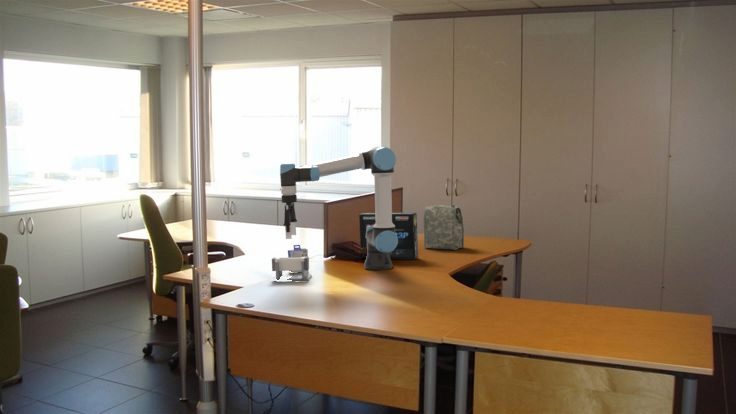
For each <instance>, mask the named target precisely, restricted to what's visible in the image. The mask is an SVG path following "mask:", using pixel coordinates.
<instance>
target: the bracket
mask: <svg viewBox="0 0 736 414" xmlns="http://www.w3.org/2000/svg"><path fill="white" fill-rule="evenodd" d="M301 265H302V273H301V274H299V275H294V276H292V275H291V276H292V277H291V278H289V279H287V280H292V281H308V282H309V281H310V280H311V279H312V274H308V273H309V272H307V270H305V261H301ZM275 266H276V271H275V277H276V279H277V280H279V279H280V277H281V276H283V271H279V261H276V262H275ZM310 278H311V279H310ZM309 279H310V280H309Z"/></svg>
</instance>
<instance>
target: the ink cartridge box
mask: <svg viewBox="0 0 736 414" xmlns="http://www.w3.org/2000/svg"><path fill="white" fill-rule="evenodd" d="M308 253H309V251H308V248H301V244H295V245H294V244H293V249H288V250H287V255H288V256H287V258H289V257H309V255H308ZM307 271H309V272H310V269H309V270H307ZM291 272H302V270H297V271H291Z"/></svg>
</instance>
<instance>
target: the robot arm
mask: <svg viewBox="0 0 736 414" xmlns="http://www.w3.org/2000/svg"><path fill="white" fill-rule="evenodd" d="M396 162H397V157H396V153H395V152H394V151H393V150H392V148H389V147H387V146H375V147H373V148H369V149H367V150H364V151H359V152H358V154H354V155H348V156H344V157H339V158H335V159H331V160H326V161H320V162H316V163H312V164H306V165H299V166H296V164H295V163H291V162H290V163H289V162H288V163H281V164H280V166H279V174H280V175H279V176H280V188H279V191H280V190H281V197H280V198H281V203H282V204H283V203H284V204H285V205H284V220H283V221H284V223H283V227H284V226H285V227H284V228H285V239H286V240H290V239H291V240H292V236H296V235H297V222H298V220H297V217H296V209H295V203H297V202H298V197H297V196H298V195H297V183H302V182H303V183H306V182H307V183H308V182H318V181H320V178H323V177H326V176H327V177H328V176H331V175H332V176H333V175H337V174H341V173H348V172H350V171H357V170H360V169H361V170H363V171H365V170H370V169H371V170H370V173H371V175H372V176H373V177H374V179H373V180H374V207H375V208H374V209H375V210H374V213H375V220H376V223H375V224H374V225H373V226H367V228H366V236H367V256H366V259H365V260H364V269H366V270H368V271H369V270H371V271H380V270H381V271H382V270H389V269H392V268H393V261H392V259H391V258H390V255H389V252H391V251H393V250H394V249H395V248H396V246H397V244H398V238H397V235H396V234H395V225H394V224H393V223H392V213H393V201H392V200H393V199H392V197H393V195H392V176H393V175H394V173H395V165H396Z"/></svg>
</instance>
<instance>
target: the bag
mask: <svg viewBox="0 0 736 414" xmlns="http://www.w3.org/2000/svg"><path fill="white" fill-rule="evenodd" d="M462 215H463V214H462V210H461V208H460V207H459V206H456V205H454V204H453V205H443V204H440V205H429V206H428V205H427V206H425V208H424V211H423V217H422V218H423V220H422V221H423V234H424V235H423V237H424V238H423V239H424V240H423V245H424V246H423V248H424V249H426V248H427V249H434V250H435V249H436V250H451V251H452V250H454V251H457V250H458V249H462V248H463V249H464V248H465V245H464V239H465V237H464V235H465V232H464V221H463V219H464V218H463V216H462Z"/></svg>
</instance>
